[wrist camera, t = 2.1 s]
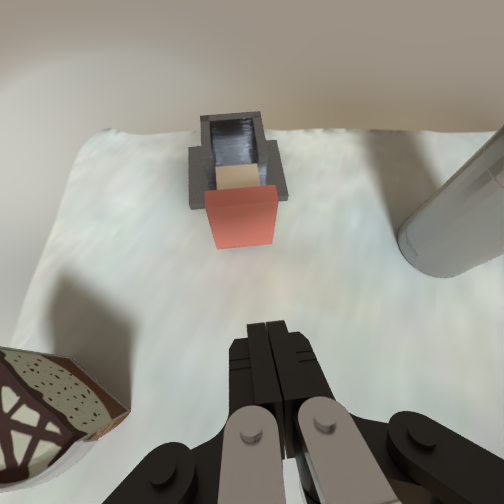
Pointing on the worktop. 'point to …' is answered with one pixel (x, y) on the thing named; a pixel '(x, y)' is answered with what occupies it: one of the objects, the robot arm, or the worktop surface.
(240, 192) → the red plug
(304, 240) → the worktop surface
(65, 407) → the food container
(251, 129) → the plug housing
